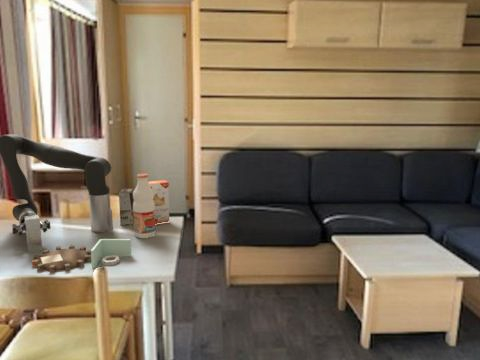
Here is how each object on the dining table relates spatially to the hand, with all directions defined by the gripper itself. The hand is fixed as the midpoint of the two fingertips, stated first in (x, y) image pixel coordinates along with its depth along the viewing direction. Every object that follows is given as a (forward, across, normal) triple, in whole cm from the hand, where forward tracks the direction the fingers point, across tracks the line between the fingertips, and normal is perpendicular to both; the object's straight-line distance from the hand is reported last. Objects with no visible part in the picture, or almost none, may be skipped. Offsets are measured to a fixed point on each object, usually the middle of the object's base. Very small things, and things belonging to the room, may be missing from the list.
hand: (33, 231), depth 181 cm
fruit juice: (+4, +45, +8) cm, 46 cm away
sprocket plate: (+16, +8, +8) cm, 20 cm away
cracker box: (-9, +54, +8) cm, 55 cm away
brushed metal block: (-1, 0, +8) cm, 8 cm away
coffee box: (-18, +44, +8) cm, 48 cm away
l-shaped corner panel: (+26, +24, +9) cm, 37 cm away
